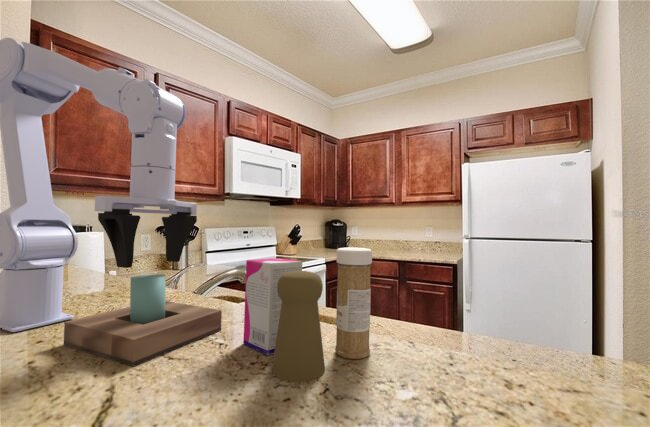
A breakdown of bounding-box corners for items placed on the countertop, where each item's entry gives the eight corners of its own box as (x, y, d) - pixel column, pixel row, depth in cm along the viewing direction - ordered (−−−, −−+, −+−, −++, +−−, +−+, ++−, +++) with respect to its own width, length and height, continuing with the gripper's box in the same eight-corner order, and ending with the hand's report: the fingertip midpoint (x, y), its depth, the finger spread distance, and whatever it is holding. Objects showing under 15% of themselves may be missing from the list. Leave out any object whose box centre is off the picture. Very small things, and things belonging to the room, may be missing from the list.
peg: (123, 334, 45) (124, 277, 45) (153, 326, 49) (154, 273, 49) (141, 340, 43) (142, 280, 43) (171, 331, 47) (172, 275, 47)
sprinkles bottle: (332, 346, 43) (334, 246, 44) (365, 345, 44) (367, 246, 44) (338, 361, 39) (339, 249, 39) (375, 360, 39) (376, 249, 40)
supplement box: (302, 343, 44) (304, 260, 45) (267, 356, 40) (269, 263, 40) (275, 333, 48) (277, 256, 48) (241, 343, 44) (243, 259, 44)
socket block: (63, 344, 42) (64, 321, 42) (158, 317, 55) (158, 299, 55) (133, 366, 36) (134, 339, 37) (221, 330, 49) (221, 310, 49)
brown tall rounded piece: (318, 384, 33) (320, 277, 33) (263, 378, 34) (265, 274, 35) (329, 360, 39) (331, 269, 39) (282, 355, 40) (283, 267, 40)
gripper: (121, 158, 38) (117, 272, 38) (211, 175, 51) (209, 260, 51) (86, 162, 41) (82, 268, 41) (180, 177, 54) (177, 258, 54)
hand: (150, 264), depth 46 cm, fingers open, 7 cm apart
